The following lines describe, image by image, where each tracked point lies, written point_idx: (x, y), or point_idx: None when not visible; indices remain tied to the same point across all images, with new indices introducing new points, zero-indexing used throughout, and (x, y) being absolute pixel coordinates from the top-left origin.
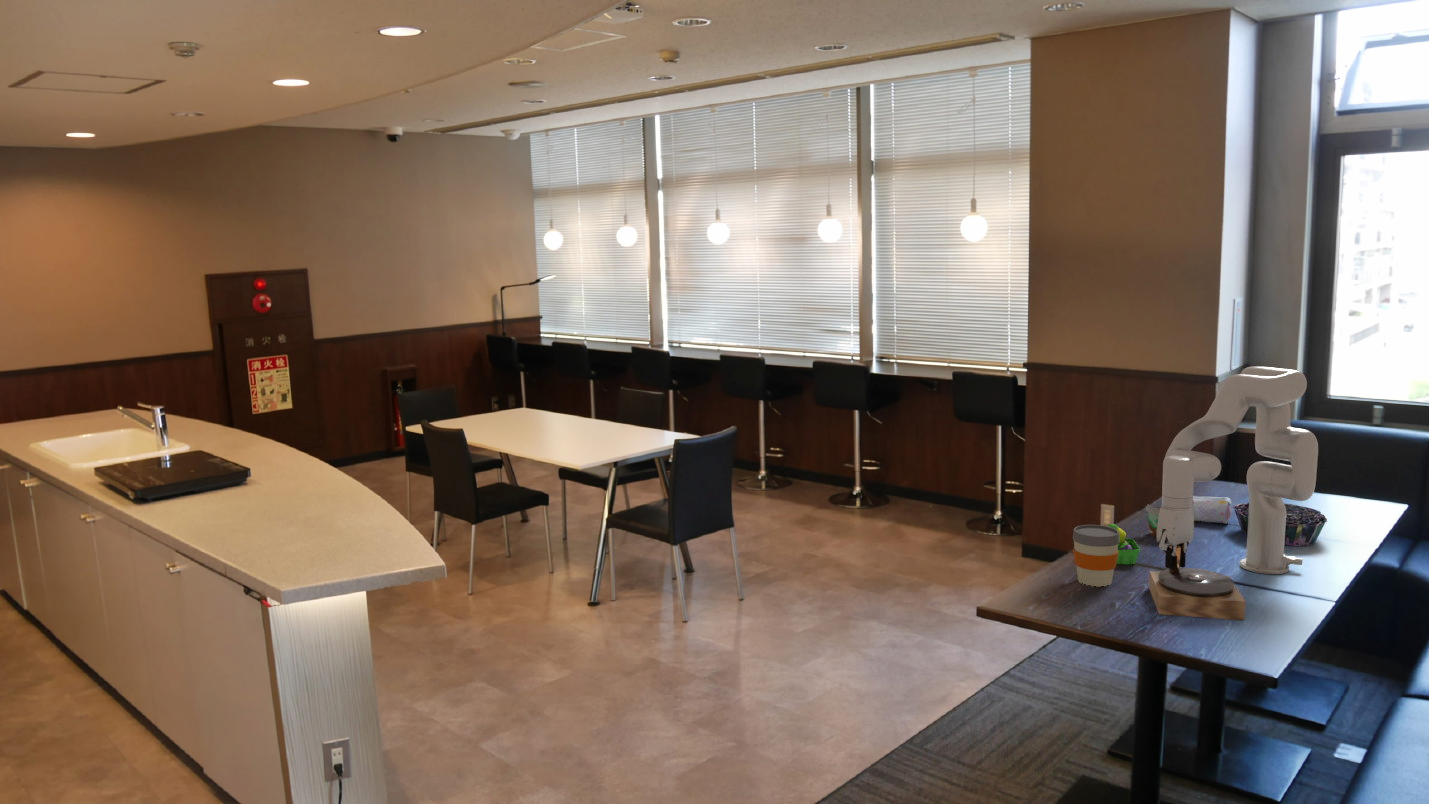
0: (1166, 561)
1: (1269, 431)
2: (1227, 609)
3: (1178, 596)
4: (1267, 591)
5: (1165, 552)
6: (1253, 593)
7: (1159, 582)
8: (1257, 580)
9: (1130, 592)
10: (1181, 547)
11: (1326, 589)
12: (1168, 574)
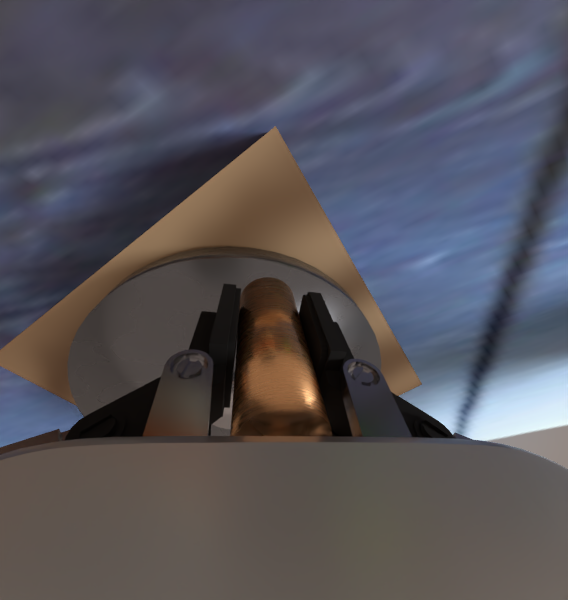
0: (197, 324)
1: None
2: None
3: (68, 396)
4: (458, 381)
5: (148, 387)
6: (426, 372)
7: (107, 294)
8: (542, 337)
9: (139, 87)
10: (349, 425)
11: (519, 425)
12: (188, 309)
